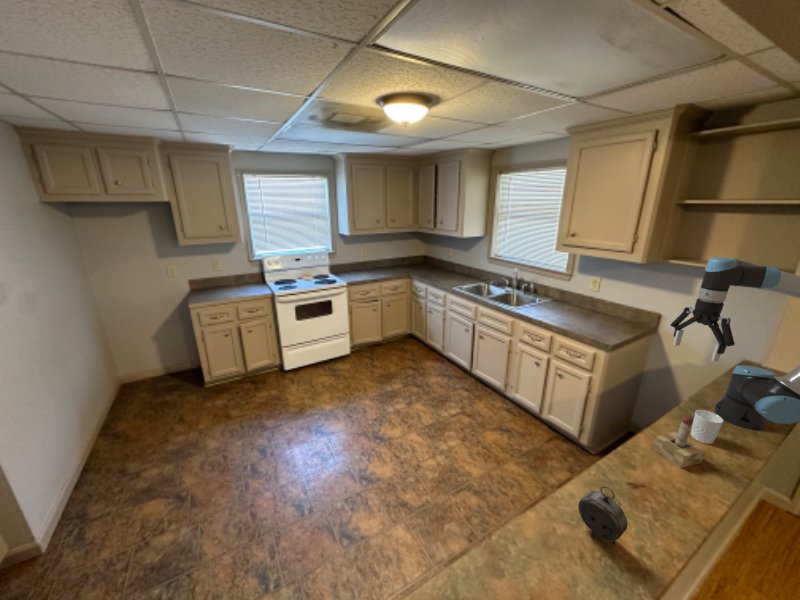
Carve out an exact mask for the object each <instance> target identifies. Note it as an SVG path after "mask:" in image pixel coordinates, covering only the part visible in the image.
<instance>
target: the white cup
mask: <svg viewBox="0 0 800 600" xmlns="http://www.w3.org/2000/svg"><path fill="white" fill-rule="evenodd" d="M693 419H694V421H693V424H692V426H691V429H690V436H691V437H692V438H693V439H694V440H696V441H697V442H700V443H702V444H707V445H712V444H714V442H715V440H716V438H717V436H718V434H719V432H720V430H721V427H722V425H723V423H724V419H723V418H721V417H720V416H718V415H717V414H716V413H715V412H712V411H708V410H706V409H705V410H704V409H697V410H695V412H694V417H693Z"/></svg>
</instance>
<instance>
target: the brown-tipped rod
mask: <svg viewBox="0 0 800 600" xmlns="http://www.w3.org/2000/svg"><path fill="white" fill-rule="evenodd" d="M693 421H694V417H692V416H690V415H688V414H684V415H683V414H682V417H681V422H680V425H679V426H678V427H679V428H678V430H677V433H678V434H677V437H676V440H675V443H674V444H675V445H677V446H678V447H680V448H681V449H683V448H684V447H685V444H686V441H687V439H688V438H689V435H690V433H691V430H692V424H693Z"/></svg>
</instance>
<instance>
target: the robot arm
mask: <svg viewBox="0 0 800 600" xmlns="http://www.w3.org/2000/svg"><path fill="white" fill-rule="evenodd" d="M731 286H732V287H740V288H741V287H742V288H745V287H746V288H754V289H755V288H756V289H765V290H767V291H772V292H775V293H778V294H781V295H785V296H789V297H792V298H793V297H794V298H796V299H800V275H797V274H794V273H790V272H785V271H781V270H780V269H779V268H777V267H774V266H768V265H766V266H764V265H762V266H761V265H759V264H754V263H751V262H747V261H743V260H739V259H737V258H732V257H729V258H728V257H721V256H719V257H718V256H717V257H716V256H715V257H711V258H709V260H708V262H707V264H706V266H705V269H704V273H703V278H702V281H701V285H700V287H699V291H698V295H697V297H698V298H697V299H696V301H695V305H694V308H693V307H692V306H688V307H687V306H686V307H684V309H683V311H682V312H681V314H680V315H678V316H677V317H676V319H674V320H673V321H672V322H671V323H670V327H673V328H674V332H673V337H674V340H673V343H672V346H674V347H678V346H680V345H681V342H682V339H683V337H684V336H683V334H684V332H685V330H684V328H686V327H688V326H691V325H692V324H694V323H695V322H696V323H697V324H702V325H704V326H708V328H709V329H710V330H711V332H712V334H713V335H714V337H715V340H716V341H717V343H716V345H715V348H714V349H713V354H712V355H711V356H712V357H711V360H710V361H711V362H719V360H720V357H721V355H723V354H725V351H726V348H727V347H733V346H735V344H736V343H735V341H734V336H733V332H732V328H731V325H730V324H731V318H730V317H722V316H721V313H722V311H723V308H724V305H725V303H724V302H726V300H727V296H728V293H729V289H730V287H731ZM690 314H692V317H691V318H689V319H687V320H686V318H688V317H689V315H690ZM684 320H685V321H684ZM718 322H719V323H720V325H719V323H718ZM720 326H721V328H720ZM713 410H714V414H716V415H718V416H720V417H721V418H722V419H723V421H727V422H728V423H731V424H733V425H736V426H738V427H742V428H746V429H751V430H760V429H763V428H764V427H765V425H766V420H768V421H770V422H772V423H775V424H786V425H788V424H789V425H790V424H791V425H792V424H795V423H799V422H800V364H799V365H797V366H796V367H795V368H793V369H791V370H790V371H789V372H788V373H786V374H785V375H783V376H777V374H776V373H775V372H773V371H770V370H769V369H765V368H761V367H757V366H751V365H740V364H739V365H737V366H735V367H734V369H733V371H732V374H731V376H730V379H729V383H728V386H727V388H726V392H725V394H724V395H723V397H722V398H721V399H720V400H719V401H718V402H717V403H716V404H715V406H714V409H713Z"/></svg>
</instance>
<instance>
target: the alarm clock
mask: <svg viewBox="0 0 800 600" xmlns="http://www.w3.org/2000/svg"><path fill="white" fill-rule="evenodd" d="M603 488H604V489H605V488H606V489H608V490H609V491H611V493H612V497H610V496H608V495H607V494H605V493H603ZM599 489H600V491H597V490H590V491H587V492H586V493H585V495H584V496H583V497H582V498H581V499H580V500H579V502H578V506H577V507H578V512H579V515H580V518H581V520H582V521H583V522H584V524H585V525H586V526H587V527H588V529H590V531H591V532H592V533H591V534H590V535H591V538H592V539H594V538H595V536H598V537H600V538H602V539H604V540H607V541H611V542H612V544H613V545H614V546H616V545H617V542H616V541H617V540H619V539H620V538H621V537H622V536H623V534H624V533H625V532H626V531H627V529H628V519H627V517H626V514H625V512H624V511H623V509H622V507H620V505H619V504H618V503H617V502H616V501H615V500H614V499H615V496H616V494H615V492H614V491H613V489H611V488H610V487H609V486H606V485H602V486H600V488H599Z"/></svg>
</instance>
